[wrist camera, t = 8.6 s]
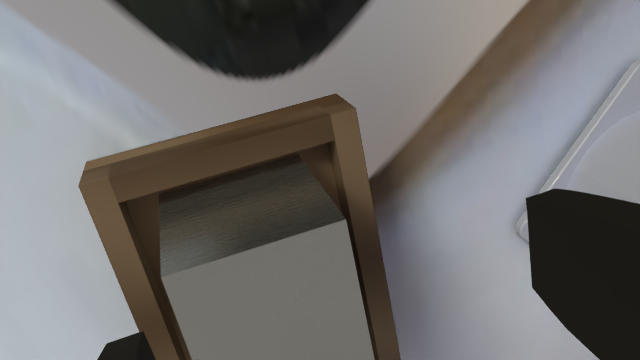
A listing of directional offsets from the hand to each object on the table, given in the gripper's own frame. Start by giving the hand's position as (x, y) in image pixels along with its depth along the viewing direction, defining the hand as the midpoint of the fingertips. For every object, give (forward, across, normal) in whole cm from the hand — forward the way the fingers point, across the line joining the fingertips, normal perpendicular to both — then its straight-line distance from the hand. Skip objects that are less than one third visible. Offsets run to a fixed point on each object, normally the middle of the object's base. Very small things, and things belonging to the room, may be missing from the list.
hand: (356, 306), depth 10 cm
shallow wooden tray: (+9, +1, +5) cm, 11 cm away
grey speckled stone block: (+9, +1, +4) cm, 10 cm away
